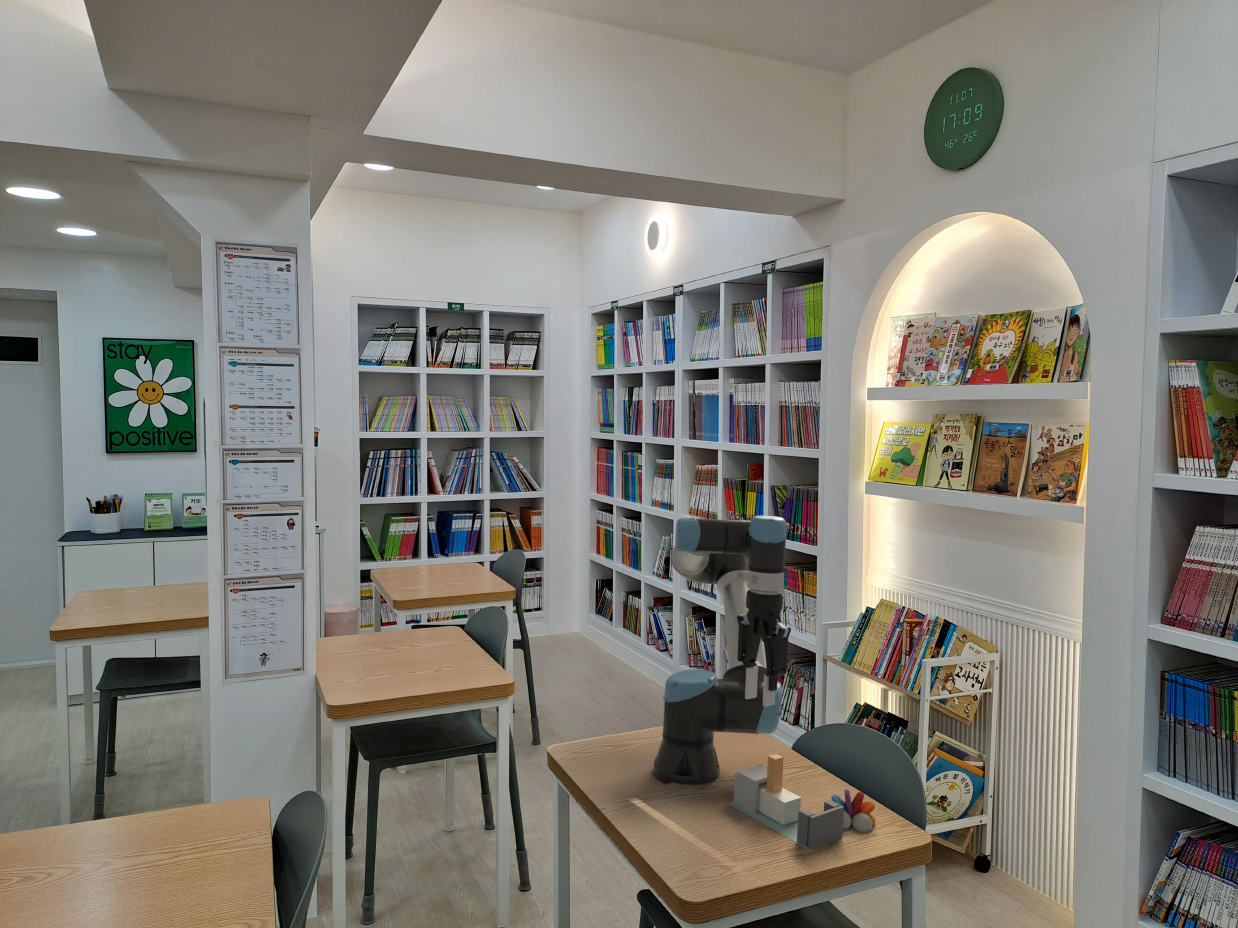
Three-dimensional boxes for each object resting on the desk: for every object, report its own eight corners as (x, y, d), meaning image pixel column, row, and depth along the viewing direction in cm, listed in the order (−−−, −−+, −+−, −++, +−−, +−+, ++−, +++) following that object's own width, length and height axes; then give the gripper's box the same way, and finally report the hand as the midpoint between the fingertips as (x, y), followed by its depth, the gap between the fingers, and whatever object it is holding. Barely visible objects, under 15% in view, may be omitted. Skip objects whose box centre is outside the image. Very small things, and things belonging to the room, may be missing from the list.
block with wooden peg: (741, 801, 174) (744, 747, 173) (757, 796, 176) (760, 743, 176) (783, 825, 164) (786, 767, 164) (799, 819, 167) (802, 763, 166)
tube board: (728, 808, 173) (730, 771, 173) (763, 797, 179) (764, 761, 179) (808, 854, 155) (810, 814, 155) (843, 841, 161) (846, 801, 161)
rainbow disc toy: (877, 838, 163) (879, 802, 162) (826, 832, 165) (828, 796, 164) (872, 819, 171) (874, 784, 171) (824, 813, 173) (826, 778, 173)
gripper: (722, 584, 177) (717, 692, 178) (783, 600, 163) (777, 717, 164) (748, 581, 181) (743, 686, 182) (809, 597, 167) (803, 711, 168)
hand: (759, 701), depth 173 cm, fingers open, 4 cm apart
